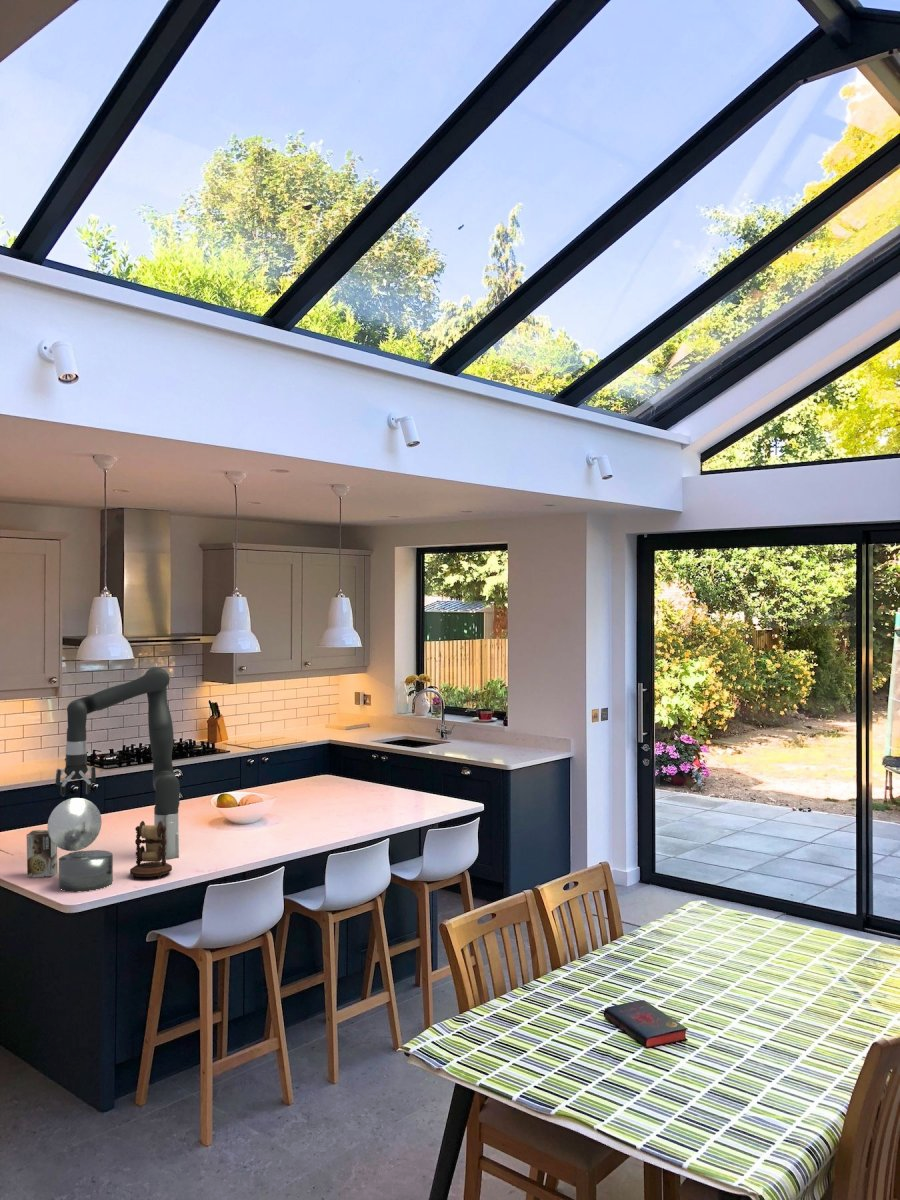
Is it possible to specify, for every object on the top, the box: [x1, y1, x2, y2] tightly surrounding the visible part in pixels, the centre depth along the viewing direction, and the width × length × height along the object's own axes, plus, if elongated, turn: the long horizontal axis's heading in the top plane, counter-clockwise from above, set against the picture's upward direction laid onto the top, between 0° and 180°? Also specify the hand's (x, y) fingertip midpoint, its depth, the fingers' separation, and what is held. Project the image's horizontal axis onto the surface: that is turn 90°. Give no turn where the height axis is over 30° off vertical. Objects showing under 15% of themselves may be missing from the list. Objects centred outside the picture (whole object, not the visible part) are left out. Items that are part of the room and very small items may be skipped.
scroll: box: [129, 820, 173, 880], centre depth 354 cm, size 15×15×20 cm
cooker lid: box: [46, 797, 102, 852], centre depth 352 cm, size 19×19×3 cm
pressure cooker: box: [58, 849, 114, 892], centre depth 343 cm, size 19×18×10 cm
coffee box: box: [26, 829, 58, 878], centre depth 355 cm, size 9×6×16 cm
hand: (75, 795), depth 367 cm, fingers open, 8 cm apart
